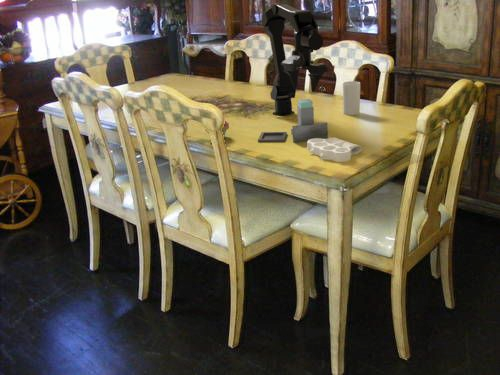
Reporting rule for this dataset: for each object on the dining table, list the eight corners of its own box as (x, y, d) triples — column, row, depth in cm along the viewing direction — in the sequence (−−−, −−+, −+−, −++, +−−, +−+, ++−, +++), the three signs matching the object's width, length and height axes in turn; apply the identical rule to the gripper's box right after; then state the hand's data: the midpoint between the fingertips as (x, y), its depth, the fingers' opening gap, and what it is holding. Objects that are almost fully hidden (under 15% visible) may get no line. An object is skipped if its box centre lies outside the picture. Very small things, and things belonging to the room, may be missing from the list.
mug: (363, 114, 234) (363, 83, 230) (347, 116, 232) (347, 85, 228) (351, 108, 243) (351, 79, 239) (336, 110, 241) (336, 81, 237)
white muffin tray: (368, 155, 190) (332, 166, 183) (331, 143, 204) (297, 152, 198) (368, 145, 189) (332, 156, 182) (331, 133, 203) (296, 142, 196)
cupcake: (206, 136, 219) (203, 104, 215) (229, 134, 220) (226, 102, 215) (206, 143, 211) (203, 109, 207) (230, 141, 212) (228, 107, 207)
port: (286, 135, 214) (285, 119, 212) (319, 131, 216) (318, 115, 214) (293, 143, 205) (293, 126, 202) (327, 140, 206) (327, 123, 204)
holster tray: (261, 135, 216) (261, 132, 216) (286, 135, 215) (286, 131, 214) (258, 143, 208) (258, 139, 207) (284, 142, 206) (283, 139, 206)
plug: (298, 136, 213) (297, 100, 208) (310, 134, 213) (309, 98, 209) (301, 139, 209) (300, 102, 204) (314, 138, 209) (313, 101, 205)
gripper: (268, 48, 217) (270, 91, 223) (305, 52, 204) (306, 97, 209) (290, 44, 224) (292, 85, 229) (328, 47, 210) (328, 91, 216)
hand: (304, 90), depth 221 cm, fingers open, 9 cm apart
